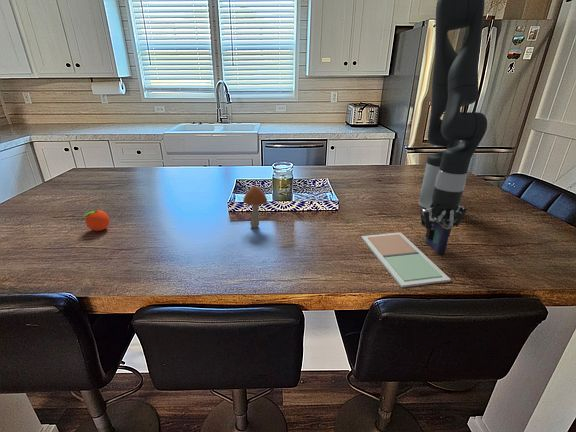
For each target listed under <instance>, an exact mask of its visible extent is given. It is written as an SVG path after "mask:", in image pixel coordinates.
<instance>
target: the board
mask: <svg viewBox="0 0 576 432" xmlns="http://www.w3.org/2000/svg"><path fill="white" fill-rule="evenodd" d="M360 238H361V239H362V241H363V242H364V243H365V245H367V247H368V249H370V251H371V252H372V253H373V254H374V256H375V257H376V258H377V259H378V260H379V262H380V263H381V265H382V266H383V267H384V268H385V269H386V271H388V273H389V274H390V276H391V277H392V278H393V279H394V280H395V282H396V283H397V284H398V286H399V287H400V288H408V287H414V286H422V285H431V284H439V283H447V282H451V278H450V277H449V276H448V275H447V274H446V273H444V271H442V270H441V268H439V267H438V266H437V265H436V264H435V263H434V262H433V261H432V260H431V259H430V258H429V257H428V256H427V255H425V253H423V251H421V250H420V249H419V248H418V247H417V246H416V245H415V244H413V242H412V241H411V240H410V239H408V238H407V237H406V236H405V235H404V234H403V233H402V232H394V233H393V232H392V233H382V234H373V235H372V234H371V235H361V237H360Z"/></svg>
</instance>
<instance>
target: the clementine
mask: <svg viewBox="0 0 576 432" xmlns="http://www.w3.org/2000/svg"><path fill="white" fill-rule="evenodd" d="M85 216H86V218H85V224H86V226H87V227H88V228H89V230H92V231H96V232H99V231H104V230H105V229H106V228H107V227H108V226H109V225H110V221H111V220H110V217H109V214H107V213H106V212H105V211H103V210H100V209H99V210H97V209H96V210H92V211H88V212H87V213H85V214H83V216H82V218H81V221H82V220H83V218H84V217H85Z"/></svg>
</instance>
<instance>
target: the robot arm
mask: <svg viewBox="0 0 576 432" xmlns="http://www.w3.org/2000/svg"><path fill="white" fill-rule="evenodd" d="M484 14H485V0H437V1H436V7H435V36H434V37H435V43H434V45H435V46H434V47H435V49H434V50H435V51H434V63H433V73H432V74H433V75H432V84H431V108H430V109H431V110H430V116H429V124H428V130H427V131H428V132H427V142H428V143H429V144H430V145H432V146H439V147H446V149H444V150H443V151H441V152H436V153H435V152H434V153H431V154H429V155H428V156H427V159H426V164H425V169H424V174H423V179H422V185H421V189H420V193H419V199H418V205H419V206H420V207H421V208H420V220H421V223H420V224H421V226H422V227H424V228H425V229H426V233H425V236H426V237H427V239H428V240H429V241H432V240H433V237H434V233H435V230H434V229H435V228H436V226H437V224H439V223H440V221H441V220H442V219H444V221H445V223H446V224H447V225H448V226H449V227H450V229H451V230H450V233H449V237H450V235H451V231H452V229H454V227H459V225H460V223H461V222H462V220H463V218H464V216H465V214H466V212H467V211H468V210H467V209H468V208H466V207H464V206H463V205H462V204H461V201H462V198H463V195H464V194H463V193H464V189H465V187H466V181H467V175H468V170H469V167H470V163H471V159H472V157H473V156H474V154H475V152H476V150H477V149H478V147H479V145H480V144H481V141H483V139H484V136H485V135H486V131H487V129H488V118H487V116H486V115H485V114H484V113H482V112H476V111H475V112H470V111H469V112H466V111H464V112H461V107H467V106H469V105H472V104H474V103H475V102H476V101H477V100H478V98H479V95H480V94H479V92H480V91H479V61H480V52H481V46H482V45H481V43H482V35H483V25H484ZM464 28H468V30H467V31H468V32H467V37H466V39H465V41H464V43H463V45H462V47H461V48H460V50H459V51H458V53H457V51H456V50H455V49H454V47H453V44H452V43H451V41H450V39H449V35H448V33H449V32H450V31H454V30H458V29H459V30H460V29H464ZM442 116H443V117H442ZM441 117H442V118H441ZM434 217H435V218H436V219H435V218H434ZM432 223H433V224H432Z"/></svg>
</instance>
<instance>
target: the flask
mask: <svg viewBox="0 0 576 432" xmlns="http://www.w3.org/2000/svg"><path fill="white" fill-rule="evenodd" d="M434 218H435V217H434ZM435 219H436V218H435ZM432 224H433V223H432ZM434 230H435V233H434V237H433V240H432V241H429V240H428V239H427V237H426V235H425V236H424V241H423V242H424V243H425V245H427V246H428V247H429V248H430V249H432V251H434V253H435V254H436V255H438V256H440V257H444V256H445V255H446V251H447V245H448V242H449V238H450V236H449V233H450V234H451V232H450V230H451V231H452V229H450V227H449V226H448V225H447V224H446V223H445V221H444V219H442V220H441V221H440V223H439V224H437V226H436V228H435V229H434Z"/></svg>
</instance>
